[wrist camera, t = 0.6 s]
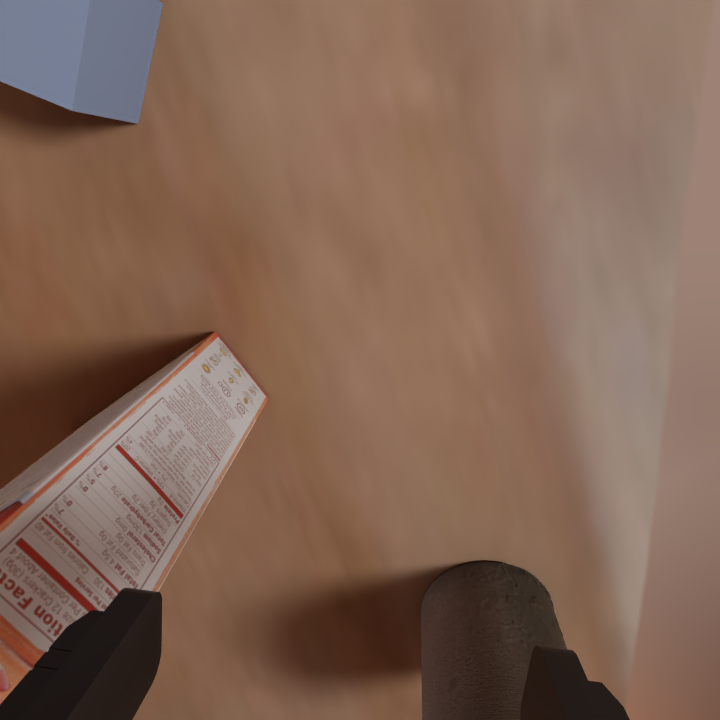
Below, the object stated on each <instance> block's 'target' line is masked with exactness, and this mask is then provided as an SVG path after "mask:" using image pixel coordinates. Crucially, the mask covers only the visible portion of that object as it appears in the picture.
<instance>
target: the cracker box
mask: <svg viewBox="0 0 720 720" xmlns="http://www.w3.org/2000/svg"><path fill="white" fill-rule="evenodd" d="M267 401H268V397H267V396H266V394H265V393H264V392H263V391H262V389H261V388H260V387H259V385H258V384H257V383H256V382H255V380H254V379H253V378H252V376H251V375H250V374H249V373H248V371H247V370H246V369H245V368H244V366H243V365H242V364H241V363H240V361H239V360H238V359H237V358H236V356H235V355H234V354H233V353H232V351H231V350H230V349H229V348H228V346H227V345H226V344H225V343H224V342H223V340H222V339H221V338H220V336H219V335H218V334H217V332H214V333H212V334H210V335H209V336H208V337H206V338H205V339H203V340H202V341H201V342H199V343H198V344H196V345H195V346H193V347H192V348H190V349H189V350H188V351H186V352H185V353H183V354H182V355H180V356H179V357H177V358H176V359H175V360H173V361H172V362H170V363H169V364H167V365H166V366H164V367H163V368H162V369H160V370H159V371H157V372H156V373H155V374H153V375H152V376H150V377H149V378H148V379H146V380H145V381H143V382H142V383H141V384H139V385H138V386H136V387H135V388H134V389H132V390H131V391H129V392H128V393H127V394H125V395H124V396H122V397H121V398H120V399H118V400H117V401H115V402H114V403H113V404H111V405H110V406H108V407H107V408H106V409H104V410H103V411H101V412H100V413H99V414H97V415H96V416H94V417H93V418H92V419H90V420H89V421H88V422H86V423H85V424H84V425H82V426H81V427H80V428H78V429H77V430H76V431H74V432H73V433H72V434H70V435H69V436H68V437H66V438H65V439H64V440H62V441H61V442H60V443H59V444H57V445H56V446H55V447H54V448H52V449H51V450H50V451H48V452H47V453H46V454H45V455H43V456H42V457H41V458H40V459H38V460H37V461H36V462H34V463H33V464H32V465H31V466H29V467H28V468H27V469H25V470H24V471H23V472H22V473H20V474H19V475H18V476H17V477H15V478H14V479H13V480H12V481H10V482H9V483H8V484H6V485H5V486H4V487H3V488H1V489H0V704H1V703H2V702H3V701H4V700H5V698H6V697H7V696H8V695H9V694H10V693H11V691H12V690H13V689H14V688H15V687H16V686H17V684H18V683H19V682H20V681H21V680H22V679H23V677H24V676H25V675H26V674H27V673H28V672H29V671H30V670H32V669H33V668H34V665H35V664H36V662H37V661H38V660H39V659H40V658H41V657H42V655H43V654H44V653H45V652H48V650H49V647H50V646H51V645H52V644H53V643H54V641H55V640H56V639H57V638H58V637H59V636H60V634H61V633H62V632H63V631H64V630H65V629H66V627H67V626H69V625H70V624H72V623H73V622H75V621H76V620H78V619H79V618H81V617H82V616H84V615H85V614H87V613H88V612H90V611H91V610H97V611H105V609H106V608H107V607H108V606H109V604H110V603H111V602H112V601H113V599H114V598H115V597H116V596H117V594H118V593H119V592H120V591H121V590H122V589H123V588H134V589H141V590H149V591H156V592H158V591H159V589H160V588H161V586H162V584H163V582H164V581H165V579H166V577H167V575H168V574H169V572H170V570H171V568H172V566H173V565H174V563H175V561H176V560H177V558H178V556H179V554H180V553H181V551H182V549H183V547H184V546H185V544H186V542H187V540H188V539H189V537H190V535H191V533H192V532H193V530H194V528H195V526H196V524H197V523H198V521H199V519H200V518H201V516H202V514H203V512H204V511H205V509H206V507H207V505H208V504H209V502H210V500H211V498H212V497H213V495H214V493H215V491H216V490H217V488H218V486H219V484H220V483H221V481H222V479H223V477H224V476H225V474H226V472H227V470H228V469H229V467H230V465H231V464H232V462H233V460H234V458H235V457H236V455H237V453H238V451H239V450H240V448H241V446H242V444H243V443H244V441H245V439H246V437H247V436H248V434H249V432H250V430H251V429H252V427H253V425H254V423H255V421H256V419H257V418H258V416H259V415H260V413H261V411H262V409H263V408H264V406H265V404H266V402H267Z"/></svg>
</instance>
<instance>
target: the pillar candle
mask: <svg viewBox="0 0 720 720" xmlns="http://www.w3.org/2000/svg"><path fill="white" fill-rule="evenodd" d="M550 599H551V598H550V594H549V592H548V591H547V590H546V588H545V586H543V585H542V583H541V582H539V580H538V579H537V578H536V577H534V576H533V575H532V574H530V573H529V572H528V571H526V570H524V569H521V568H518V567H515V566H513V565H508V564H505V563H500V562H488V561H482V562H472V563H468V564H464V565H459V566H456V567H454V568H452V569H450V570H447V571H446V572H445V573H443V574H441V575H440V576H439V577H438V578H437V579H436V580H434V582H433V583H432V584H431V585H430V586H429V588H428V589H427V591H426V593H425V595H424V597H423V601H422V605H421V668H422V720H520V709H521V702H522V697H523V692H524V688H525V683H526V678H527V673H528V669H529V664H530V659H531V655H532V651H533V648H534V647H535V646H536V645H538V646H546V647H553V648H560V649H567V648H566V645H565V642H564V639H563V635H562V632H561V630H560V627H559V624H558V621H557V618H556V615H555V612H554V608H553V603H552V601H551V600H550Z"/></svg>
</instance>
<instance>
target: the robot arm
mask: <svg viewBox="0 0 720 720" xmlns="http://www.w3.org/2000/svg"><path fill="white" fill-rule="evenodd" d="M161 635H162V596H161V593H160V592H156V591H149V590H141V589H134V588H123V589H122V590H121V591H120V592H119V593H118V594H117V596H116V597H115V598H114V599H113V601H112V602H111V603H110V604H109V606H108V607H107V608H106V609H105V611H97V610H91V611H90V612H88V613H87V614H85V615H84V616H82V617H81V618H79V619H78V620H76V621H75V622H73V623H72V624H70V625H69V626H67V627H66V629H65V630H64V631H63V632H62V633H61V634H60V636H59V637H58V638H57V639H56V640H55V641H54V643H53V644H52V645H51V646H50V647H49V650H48V652H45V653H44V654H43V655H42V657H41V658H40V659H39V660H38V661H37V662H36V664H35V665H34V668H33V669H32V670H30V671H29V672H28V673H27V674H26V675H25V676H24V677H23V679H22V680H21V681H20V682H19V683H18V684H17V686H16V687H15V688H14V689H13V690H12V691H11V693H10V694H9V695H8V696H7V697H6V698H5V700H4V701H3V702H2V703H1V704H0V720H132V719H133V717H134V716H135V714H136V712H137V710H138V708H139V707H140V705H141V703H142V701H143V699H144V698H145V696H146V694H147V692H148V690H149V689H150V687H151V685H152V683H153V680H154V678H155V676H156V673H157V670H158V666H159V662H160V657H161ZM520 720H630V719H629V718H628V715H627V713H626V711H625V709H624V707H623V706H622V705H621V704H620V703H619V701H618V700H617V699H616V698H615V697H614V696H613V695H612V694H611V692H610V691H609V690H608V689H607V688H606V687H605V686H604V685H603V684H602V683H600V682H593V681H588V679H587V677H586V675H585V673H584V670H583V668H582V666H581V664H580V661H579V659H578V657H577V655H576V653H575V652H574V651H572V650H567V649H560V648H553V647H546V646H538V645H536V646H535V647H534V648H533V651H532V655H531V659H530V664H529V669H528V673H527V678H526V683H525V688H524V692H523V697H522V702H521V709H520Z"/></svg>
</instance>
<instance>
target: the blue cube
mask: <svg viewBox="0 0 720 720" xmlns="http://www.w3.org/2000/svg"><path fill="white" fill-rule="evenodd" d="M162 6H163V3H161V2H160V1H158V0H0V81H1V82H3V83H5V84H8V85H10V86H13V87H15V88H18V89H20V90H22V91H25V92H27V93H30V94H32V95H35V96H37V97H40V98H42V99H44V100H47V101H49V102H52V103H54V104H57V105H59V106H61V107H64V108H66V109H69V110H71V111H75V112H80V113H85V114H90V115H95V116H100V117H105V118H111V119H116V120H121V121H126V122H131V123H136V124H138V122H139V117H140V112H141V107H142V102H143V98H144V93H145V88H146V83H147V78H148V74H149V69H150V64H151V59H152V54H153V49H154V45H155V40H156V35H157V30H158V25H159V21H160V16H161V11H162Z"/></svg>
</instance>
